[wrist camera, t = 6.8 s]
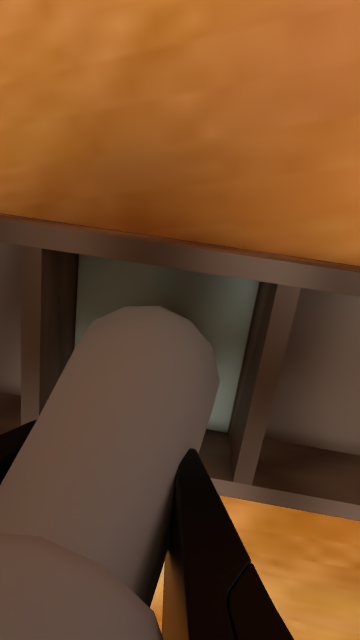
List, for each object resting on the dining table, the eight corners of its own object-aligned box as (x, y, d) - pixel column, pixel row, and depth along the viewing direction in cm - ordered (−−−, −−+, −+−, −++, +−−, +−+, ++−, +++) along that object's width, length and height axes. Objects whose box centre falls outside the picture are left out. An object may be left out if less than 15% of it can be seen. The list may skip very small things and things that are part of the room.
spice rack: (483, 284, 15) (594, 307, 11) (409, 466, 18) (472, 542, 13) (-108, 197, 16) (-222, 186, 12) (-88, 378, 19) (-175, 421, 15)
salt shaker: (76, 378, 16) (-461, 970, 3) (120, 271, 14) (-635, 614, 2) (185, 429, 16) (87, 1180, 3) (241, 329, 14) (458, 1066, 2)
